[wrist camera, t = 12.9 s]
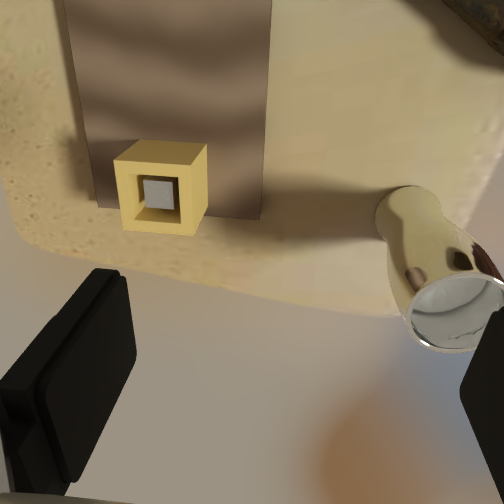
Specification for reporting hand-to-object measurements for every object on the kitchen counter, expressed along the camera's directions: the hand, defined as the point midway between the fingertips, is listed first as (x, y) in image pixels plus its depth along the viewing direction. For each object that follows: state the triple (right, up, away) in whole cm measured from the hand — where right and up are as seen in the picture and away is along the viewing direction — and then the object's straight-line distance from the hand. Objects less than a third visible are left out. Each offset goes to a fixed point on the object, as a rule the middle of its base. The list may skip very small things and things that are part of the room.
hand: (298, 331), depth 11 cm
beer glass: (+14, +6, +28) cm, 32 cm away
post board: (-8, +14, +26) cm, 30 cm away
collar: (-8, +9, +27) cm, 30 cm away
